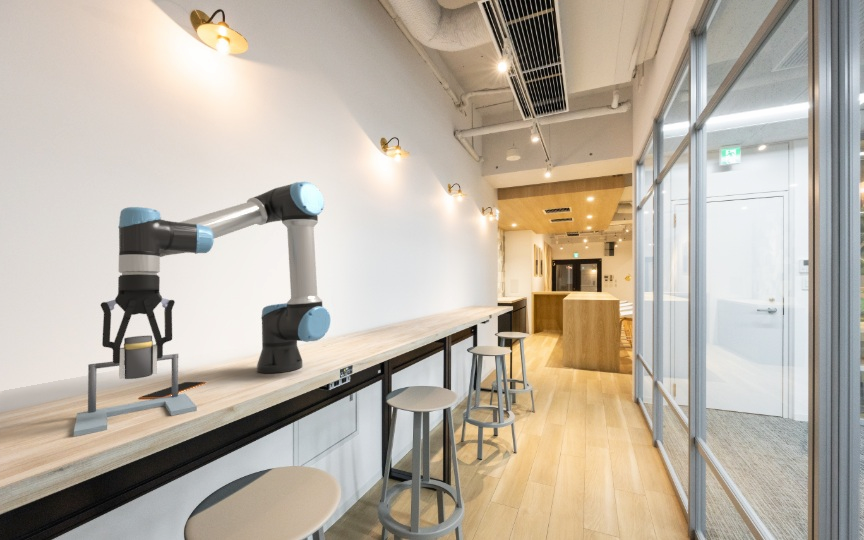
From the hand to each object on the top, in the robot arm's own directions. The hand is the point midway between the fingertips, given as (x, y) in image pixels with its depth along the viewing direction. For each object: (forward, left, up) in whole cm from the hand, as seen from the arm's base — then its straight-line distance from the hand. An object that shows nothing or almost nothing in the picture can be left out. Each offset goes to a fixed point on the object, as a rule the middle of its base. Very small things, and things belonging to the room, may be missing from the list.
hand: (138, 374), depth 84 cm
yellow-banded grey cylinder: (0, 0, 0) cm, 0 cm away
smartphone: (-10, -22, -10) cm, 26 cm away
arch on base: (0, -3, -10) cm, 10 cm away
